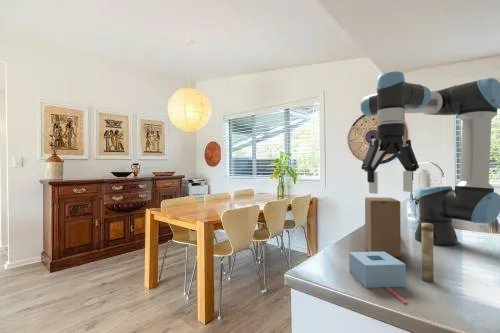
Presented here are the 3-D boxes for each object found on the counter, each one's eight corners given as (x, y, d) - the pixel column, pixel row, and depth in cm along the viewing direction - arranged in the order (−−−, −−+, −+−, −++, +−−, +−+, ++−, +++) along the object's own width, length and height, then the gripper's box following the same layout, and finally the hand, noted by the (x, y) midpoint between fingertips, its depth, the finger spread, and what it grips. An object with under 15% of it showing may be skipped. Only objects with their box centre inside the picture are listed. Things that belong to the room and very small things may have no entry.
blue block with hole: (384, 270, 85) (384, 251, 85) (405, 286, 74) (405, 264, 74) (349, 271, 85) (349, 252, 85) (365, 287, 74) (365, 265, 74)
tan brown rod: (429, 277, 79) (428, 222, 79) (436, 282, 76) (435, 225, 76) (419, 278, 79) (418, 223, 79) (426, 282, 76) (425, 225, 76)
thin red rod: (389, 288, 73) (389, 287, 73) (407, 304, 65) (407, 302, 65) (386, 288, 73) (386, 287, 73) (404, 304, 65) (404, 302, 65)
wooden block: (401, 257, 97) (400, 200, 97) (371, 255, 99) (370, 200, 99) (392, 248, 107) (392, 197, 107) (365, 247, 109) (364, 197, 109)
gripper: (410, 127, 92) (411, 189, 93) (348, 124, 85) (349, 192, 85) (431, 123, 85) (432, 191, 85) (366, 120, 77) (366, 195, 78)
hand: (391, 192), depth 85 cm, fingers open, 13 cm apart
